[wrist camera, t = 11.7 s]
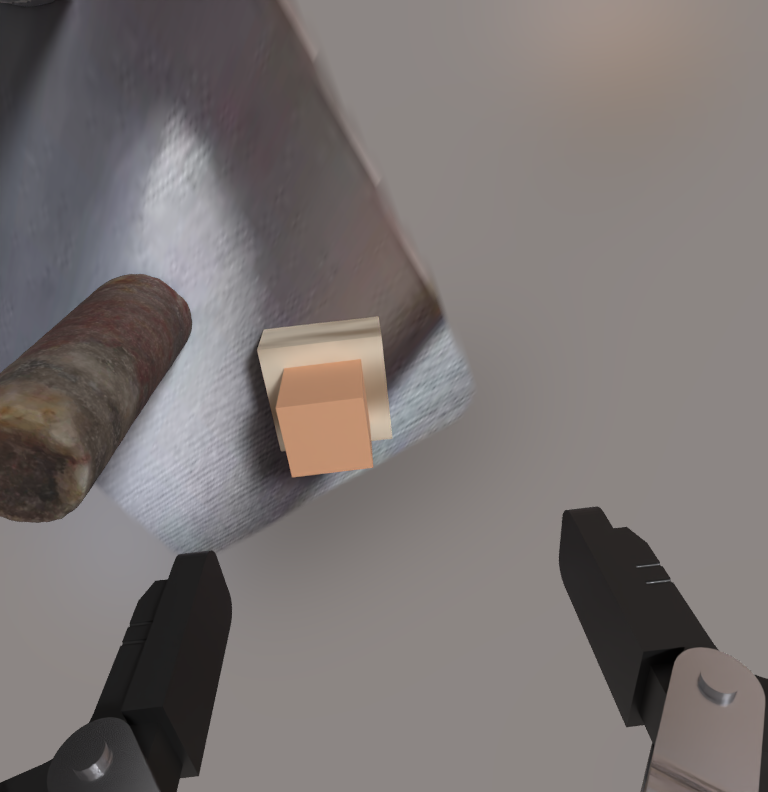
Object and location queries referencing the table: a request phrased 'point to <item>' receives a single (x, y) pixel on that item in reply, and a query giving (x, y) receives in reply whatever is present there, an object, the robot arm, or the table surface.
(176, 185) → the table surface
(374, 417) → the oak plinth
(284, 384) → the terracotta cube
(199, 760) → the robot arm
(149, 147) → the table surface
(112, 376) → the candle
